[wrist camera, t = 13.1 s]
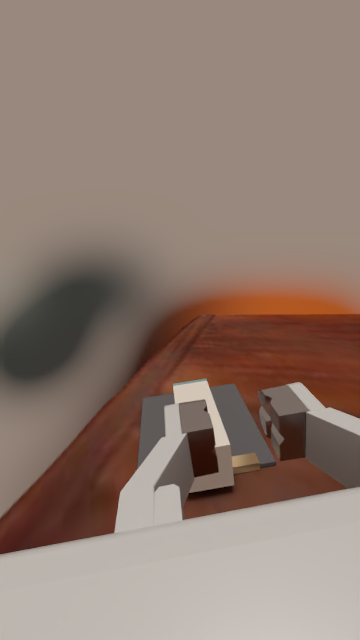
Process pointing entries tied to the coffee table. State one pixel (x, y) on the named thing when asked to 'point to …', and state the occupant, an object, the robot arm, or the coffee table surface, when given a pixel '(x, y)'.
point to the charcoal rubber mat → (232, 415)
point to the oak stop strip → (245, 463)
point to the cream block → (222, 447)
